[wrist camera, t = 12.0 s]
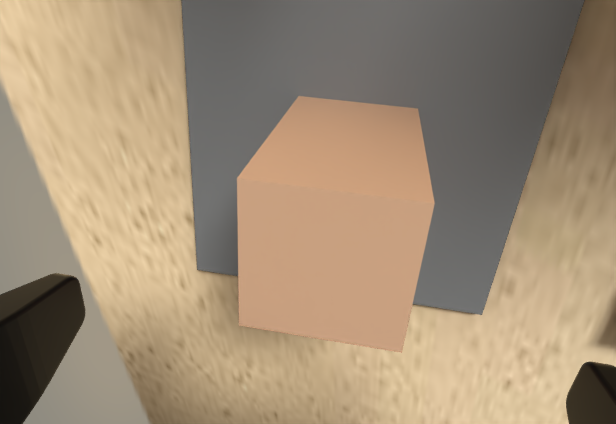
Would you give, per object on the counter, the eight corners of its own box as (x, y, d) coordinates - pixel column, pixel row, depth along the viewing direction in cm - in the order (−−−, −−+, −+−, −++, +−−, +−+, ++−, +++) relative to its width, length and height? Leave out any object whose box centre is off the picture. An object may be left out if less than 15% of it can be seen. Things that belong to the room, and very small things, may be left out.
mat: (480, 308, 19) (481, 314, 18) (200, 264, 20) (197, 269, 20) (585, -18, 13) (590, -18, 13) (183, -49, 14) (178, -49, 14)
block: (398, 214, 17) (401, 352, 11) (293, 200, 17) (238, 325, 11) (418, 108, 15) (434, 203, 9) (298, 95, 15) (237, 177, 9)
